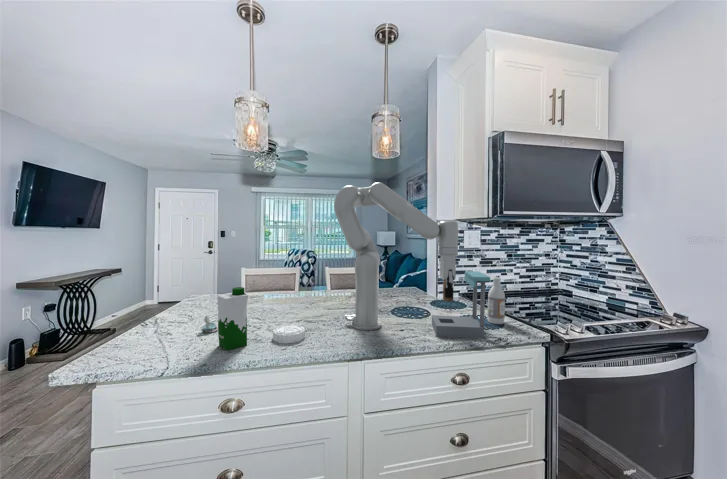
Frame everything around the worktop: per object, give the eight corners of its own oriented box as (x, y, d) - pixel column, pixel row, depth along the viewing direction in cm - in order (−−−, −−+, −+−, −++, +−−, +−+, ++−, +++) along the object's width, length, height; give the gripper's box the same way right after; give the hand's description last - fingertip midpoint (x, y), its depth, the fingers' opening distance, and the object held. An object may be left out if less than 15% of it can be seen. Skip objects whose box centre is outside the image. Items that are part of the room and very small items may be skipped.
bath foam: (498, 325, 133) (499, 279, 132) (484, 321, 138) (485, 277, 138) (507, 322, 136) (508, 278, 136) (493, 318, 142) (494, 276, 141)
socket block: (436, 336, 119) (436, 325, 119) (431, 324, 133) (431, 315, 133) (484, 338, 118) (484, 327, 117) (474, 326, 132) (474, 316, 131)
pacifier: (220, 327, 128) (204, 328, 126) (221, 312, 128) (205, 313, 126) (216, 333, 121) (199, 334, 119) (216, 318, 120) (199, 318, 119)
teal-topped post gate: (472, 338, 118) (473, 276, 117) (463, 325, 133) (464, 271, 131) (488, 338, 117) (490, 277, 116) (477, 325, 132) (479, 271, 131)
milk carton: (250, 345, 109) (250, 289, 108) (224, 352, 102) (223, 293, 101) (240, 338, 115) (240, 285, 114) (215, 345, 109) (214, 289, 108)
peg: (444, 301, 123) (444, 276, 123) (442, 298, 127) (442, 274, 127) (454, 301, 123) (454, 276, 123) (452, 299, 127) (452, 275, 127)
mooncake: (305, 342, 112) (305, 333, 112) (271, 345, 110) (271, 335, 110) (305, 331, 124) (305, 322, 124) (274, 333, 122) (274, 324, 121)
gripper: (435, 249, 133) (435, 291, 134) (441, 253, 116) (441, 301, 117) (453, 249, 132) (453, 292, 133) (462, 253, 116) (462, 301, 117)
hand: (448, 295), depth 125 cm, fingers closed on peg, 4 cm apart
